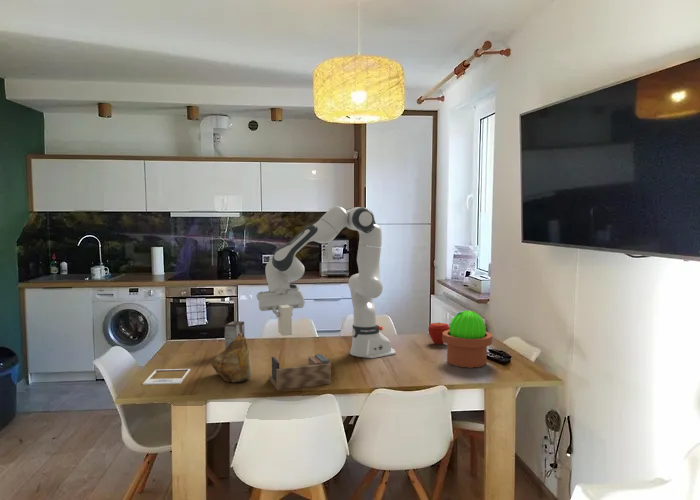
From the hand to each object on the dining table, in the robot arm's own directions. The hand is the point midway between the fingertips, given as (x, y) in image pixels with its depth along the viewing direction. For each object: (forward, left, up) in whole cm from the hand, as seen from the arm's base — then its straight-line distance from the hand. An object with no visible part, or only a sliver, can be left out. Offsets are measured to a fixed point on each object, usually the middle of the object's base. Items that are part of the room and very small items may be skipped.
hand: (284, 316), depth 217 cm
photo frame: (+48, -8, -24) cm, 54 cm away
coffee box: (+17, -30, -24) cm, 42 cm away
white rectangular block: (0, 0, -7) cm, 7 cm away
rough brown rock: (+23, 0, -24) cm, 33 cm away
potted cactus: (-81, +19, -24) cm, 87 cm away
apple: (-87, -15, -24) cm, 91 cm away
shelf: (-2, +17, -24) cm, 29 cm away
